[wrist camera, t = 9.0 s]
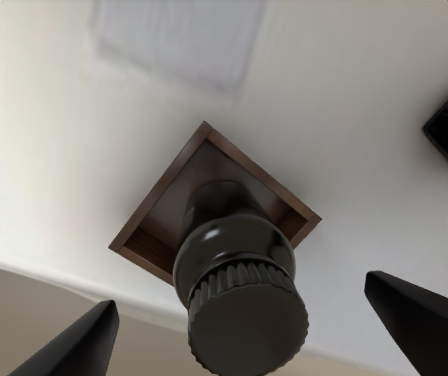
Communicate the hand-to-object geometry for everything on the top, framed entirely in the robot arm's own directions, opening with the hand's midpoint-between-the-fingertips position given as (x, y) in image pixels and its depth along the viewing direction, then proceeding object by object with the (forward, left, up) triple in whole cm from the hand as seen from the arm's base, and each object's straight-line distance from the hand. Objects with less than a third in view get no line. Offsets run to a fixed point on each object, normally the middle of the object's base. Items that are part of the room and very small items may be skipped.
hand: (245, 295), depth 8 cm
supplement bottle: (-1, +1, -12) cm, 12 cm away
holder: (-1, +2, -13) cm, 13 cm away
